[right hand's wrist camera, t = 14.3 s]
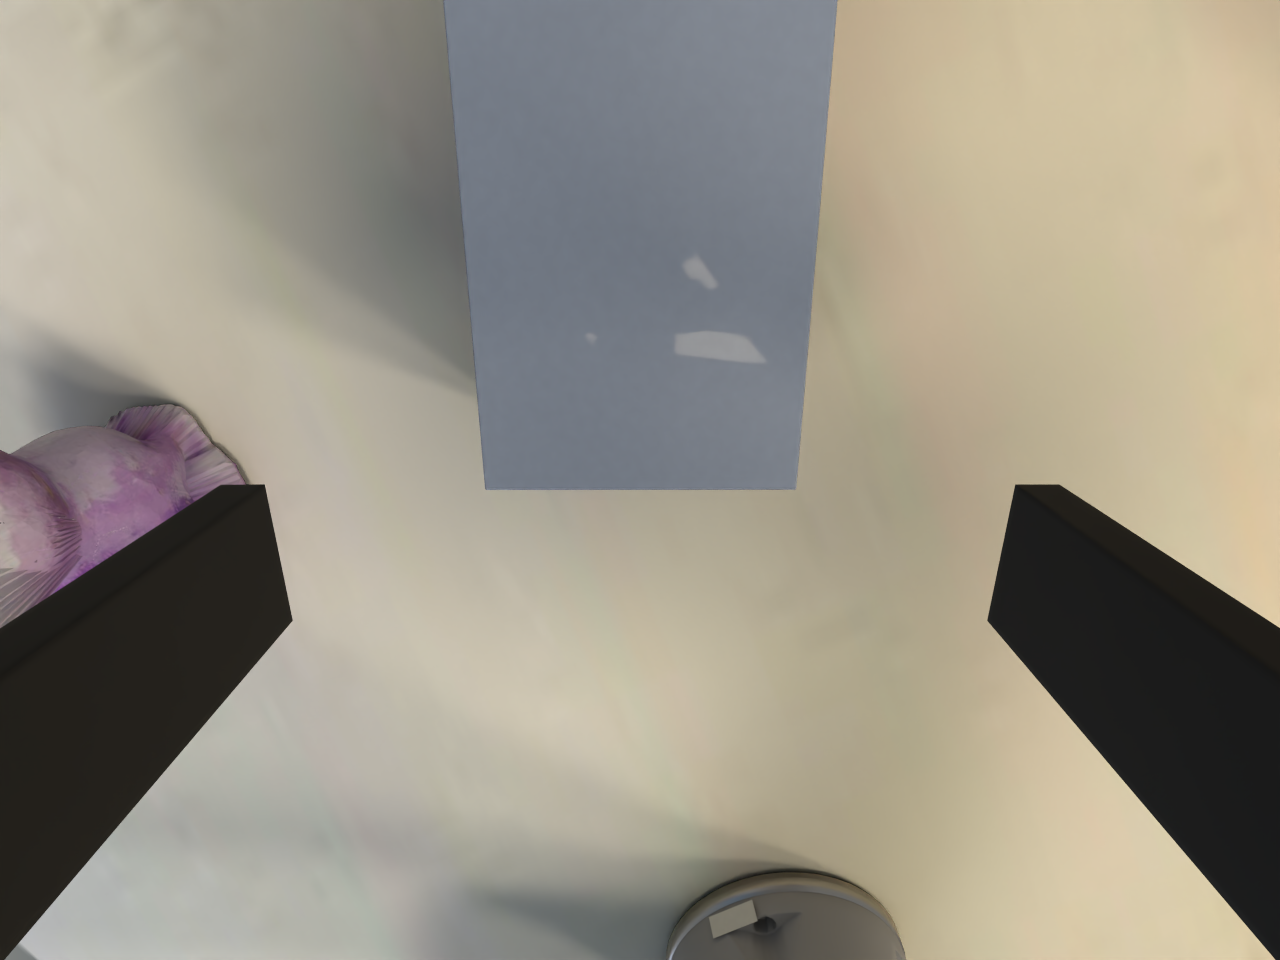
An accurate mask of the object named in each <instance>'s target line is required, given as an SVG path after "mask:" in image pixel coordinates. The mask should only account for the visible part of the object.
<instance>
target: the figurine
mask: <svg viewBox="0 0 1280 960" xmlns="http://www.w3.org/2000/svg"><path fill="white" fill-rule="evenodd" d="M219 485H246V483H245V482H244V480H243V478H242V476H241V475H240V473H239V471H238V469H237V465H236V464H235V463H234V462H233V461H231V460H230V459H229V458H228V457H227V456H226V455H225V454H224V453H223V452H222V451H221V450H220V449H218V448H217V447H216V446H215V445H213V444H212V443H211V442H210V440H209V438H208V437H207V436H206V435H205V434H204V433H203V431H202V429H201V428H200V427H199V426H198V424H197V421H196V420H195V419H194V418H193V417H192V416H191V415H190V414H189V413H188V412H187V411H186V410H185V409H184V408H182V407H179V406H174V405H172V404H168V405H167V404H164V405H160V406H157V405H155V406H153V407H152V406H148V407H146V406H143V407H140V406H138V407H132V408H127V409H125V410H124V411H120V412H119V414H118V415H116V416H113V417H111V418H110V420H109V421H108V423H107V425H106V426H105V428H104V427H97V426H81V427H72V428H66V429H61V430H57V431H54V432H51V433H48V434H46V435H44V436H42V437H40V438H38V439H35V440H34V441H32V442H30V443H28V444H27V445H25V446H23V447H22V448H20V449H18V450H17V451H15V452H13V453H11V454H7V453H5V452H3V451H1V450H0V628H1V627H3V626H4V625H6V624H7V623H9V622H10V621H12V620H13V619H15V618H17V617H18V616H20V615H21V614H23V613H24V612H26V611H27V610H29V609H30V608H32V607H33V606H35V605H37V604H38V603H40V602H41V601H43V600H44V599H46V598H47V597H49V596H50V595H52V594H53V593H55V592H57V591H58V590H60V589H61V588H63V587H64V586H66V585H67V584H69V583H70V582H72V581H73V580H75V579H76V578H78V577H80V576H81V575H83V574H84V573H86V572H87V571H89V570H90V569H92V568H93V567H95V566H96V565H98V564H100V563H101V562H103V561H104V560H106V559H107V558H109V557H110V556H112V555H113V554H115V553H116V552H118V551H120V550H121V549H123V548H124V547H126V546H127V545H129V544H130V543H132V542H133V541H135V540H136V539H138V538H140V537H141V536H143V535H144V534H146V533H147V532H149V531H150V530H152V529H153V528H155V527H156V526H158V525H159V524H161V523H163V522H164V521H166V520H167V519H169V518H170V517H172V516H173V515H175V514H176V513H178V512H179V511H181V510H183V509H184V508H186V507H187V506H189V505H190V504H192V503H193V502H195V501H196V500H198V499H199V498H201V497H203V496H204V495H206V494H207V493H209V492H210V491H212V490H213V489H215V488H216V487H218V486H219Z"/></svg>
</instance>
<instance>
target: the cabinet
mask: <svg viewBox="0 0 1280 960" xmlns="http://www.w3.org/2000/svg"><path fill="white" fill-rule="evenodd" d="M443 2H444V13H445V25H446V37H447V48H448V60H449V72H450V83H451V95H452V107H453V118H454V130H455V142H456V153H457V165H458V177H459V188H460V200H461V212H462V223H463V235H464V247H465V258H466V270H467V282H468V293H469V305H470V317H471V328H472V340H473V352H474V363H475V375H476V387H477V398H478V410H479V422H480V433H481V445H482V457H483V468H484V480H485V489H486V490H795V489H796V485H797V473H798V461H799V450H800V438H801V426H802V414H803V402H804V390H805V379H806V367H807V355H808V343H809V331H810V319H811V308H812V296H813V284H814V272H815V260H816V248H817V237H818V225H819V213H820V201H821V189H822V177H823V166H824V154H825V142H826V130H827V118H828V107H829V95H830V83H831V71H832V59H833V47H834V36H835V24H836V12H837V0H443Z"/></svg>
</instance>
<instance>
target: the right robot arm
mask: <svg viewBox="0 0 1280 960" xmlns="http://www.w3.org/2000/svg"><path fill="white" fill-rule="evenodd" d="M292 621H293V620H292V615H291V610H290V605H289V601H288V596H287V591H286V586H285V581H284V576H283V571H282V567H281V562H280V557H279V552H278V547H277V542H276V538H275V533H274V528H273V523H272V518H271V513H270V508H269V504H268V499H267V494H266V489H265V485H219V486H218V487H216V488H215V489H213V490H212V491H210V492H209V493H207V494H206V495H204V496H203V497H201V498H199V499H198V500H196V501H195V502H193V503H192V504H190V505H189V506H187V507H186V508H184V509H183V510H181V511H179V512H178V513H176V514H175V515H173V516H172V517H170V518H169V519H167V520H166V521H164V522H163V523H161V524H159V525H158V526H156V527H155V528H153V529H152V530H150V531H149V532H147V533H146V534H144V535H143V536H141V537H140V538H138V539H136V540H135V541H133V542H132V543H130V544H129V545H127V546H126V547H124V548H123V549H121V550H120V551H118V552H116V553H115V554H113V555H112V556H110V557H109V558H107V559H106V560H104V561H103V562H101V563H100V564H98V565H96V566H95V567H93V568H92V569H90V570H89V571H87V572H86V573H84V574H83V575H81V576H80V577H78V578H76V579H75V580H73V581H72V582H70V583H69V584H67V585H66V586H64V587H63V588H61V589H60V590H58V591H57V592H55V593H53V594H52V595H50V596H49V597H47V598H46V599H44V600H43V601H41V602H40V603H38V604H37V605H35V606H33V607H32V608H30V609H29V610H27V611H26V612H24V613H23V614H21V615H20V616H18V617H17V618H15V619H13V620H12V621H10V622H9V623H7V624H6V625H4V626H3V627H1V628H0V960H4V959H5V958H6V957H7V956H8V955H9V954H10V952H11V951H12V950H13V949H14V948H15V947H16V945H17V944H18V943H19V942H20V941H21V940H22V938H23V937H24V936H25V935H26V934H27V932H28V931H29V930H30V929H31V928H32V927H33V925H34V924H35V923H36V922H37V921H38V920H39V918H40V917H41V916H42V915H43V914H44V912H45V911H46V910H47V909H48V908H49V907H50V905H51V904H52V903H53V902H54V901H55V900H56V898H57V897H58V896H59V895H60V894H61V892H62V891H63V890H64V889H65V888H66V887H67V885H68V884H69V883H70V882H71V881H72V880H73V878H74V877H75V876H76V875H77V874H78V872H79V871H80V870H81V869H82V868H83V867H84V865H85V864H86V863H87V862H88V861H89V860H90V858H91V857H92V856H93V855H94V854H95V852H96V851H97V850H98V849H99V848H100V847H101V845H102V844H103V843H104V842H105V841H106V840H107V838H108V837H109V836H110V835H111V834H112V832H113V831H114V830H115V829H116V828H117V827H118V825H119V824H120V823H121V822H122V821H123V820H124V818H125V817H126V816H127V815H128V814H129V812H130V811H131V810H132V809H133V808H134V807H135V805H136V804H137V803H138V802H139V801H140V800H141V798H142V797H143V796H144V795H145V794H146V792H147V791H148V790H149V789H150V788H151V787H152V785H153V784H154V783H155V782H156V781H157V780H158V778H159V777H160V776H161V775H162V774H163V772H164V771H165V770H166V769H167V768H168V767H169V765H170V764H171V763H172V762H173V761H174V760H175V758H176V757H177V756H178V755H179V754H180V752H181V751H182V750H183V749H184V748H185V747H186V745H187V744H188V743H189V742H190V741H191V740H192V738H193V737H194V736H195V735H196V734H197V732H198V731H199V730H200V729H201V728H202V727H203V725H204V724H205V723H206V722H207V721H208V720H209V718H210V717H211V716H212V715H213V714H214V712H215V711H216V710H217V709H218V708H219V707H220V705H221V704H222V703H223V702H224V701H225V700H226V698H227V697H228V696H229V695H230V694H231V692H232V691H233V690H234V689H235V688H236V687H237V685H238V684H239V683H240V682H241V681H242V680H243V678H244V677H245V676H246V675H247V674H248V672H249V671H250V670H251V669H252V668H253V667H254V665H255V664H256V663H257V662H258V661H259V660H260V658H261V657H262V656H263V655H264V654H265V652H266V651H267V650H268V649H269V648H270V647H271V645H272V644H273V643H274V642H275V641H276V640H277V638H278V637H279V636H280V635H281V634H282V632H283V631H284V630H285V629H286V628H287V627H288V625H289V624H290V623H291V622H292ZM987 621H988V622H989V623H990V624H991V625H992V627H993V628H994V629H995V630H996V631H997V632H998V634H999V635H1000V636H1001V637H1002V638H1003V640H1004V641H1005V642H1006V643H1007V644H1008V645H1009V647H1010V648H1011V649H1012V650H1013V651H1014V652H1015V654H1016V655H1017V656H1018V657H1019V658H1020V660H1021V661H1022V662H1023V663H1024V664H1025V665H1026V667H1027V668H1028V669H1029V670H1030V671H1031V672H1032V674H1033V675H1034V676H1035V677H1036V678H1037V680H1038V681H1039V682H1040V683H1041V684H1042V685H1043V687H1044V688H1045V689H1046V690H1047V691H1048V692H1049V694H1050V695H1051V696H1052V697H1053V698H1054V700H1055V701H1056V702H1057V703H1058V704H1059V705H1060V707H1061V708H1062V709H1063V710H1064V711H1065V712H1066V714H1067V715H1068V716H1069V717H1070V718H1071V720H1072V721H1073V722H1074V723H1075V724H1076V725H1077V727H1078V728H1079V729H1080V730H1081V731H1082V732H1083V734H1084V735H1085V736H1086V737H1087V738H1088V740H1089V741H1090V742H1091V743H1092V744H1093V745H1094V747H1095V748H1096V749H1097V750H1098V751H1099V752H1100V754H1101V755H1102V756H1103V757H1104V758H1105V760H1106V761H1107V762H1108V763H1109V764H1110V765H1111V767H1112V768H1113V769H1114V770H1115V771H1116V772H1117V774H1118V775H1119V776H1120V777H1121V778H1122V780H1123V781H1124V782H1125V783H1126V784H1127V785H1128V787H1129V788H1130V789H1131V790H1132V791H1133V792H1134V794H1135V795H1136V796H1137V797H1138V798H1139V800H1140V801H1141V802H1142V803H1143V804H1144V805H1145V807H1146V808H1147V809H1148V810H1149V811H1150V812H1151V814H1152V815H1153V816H1154V817H1155V818H1156V820H1157V821H1158V822H1159V823H1160V824H1161V825H1162V827H1163V828H1164V829H1165V830H1166V831H1167V832H1168V834H1169V835H1170V836H1171V837H1172V838H1173V840H1174V841H1175V842H1176V843H1177V844H1178V845H1179V847H1180V848H1181V849H1182V850H1183V851H1184V852H1185V854H1186V855H1187V856H1188V857H1189V858H1190V860H1191V861H1192V862H1193V863H1194V864H1195V865H1196V867H1197V868H1198V869H1199V870H1200V871H1201V872H1202V874H1203V875H1204V876H1205V877H1206V878H1207V880H1208V881H1209V882H1210V883H1211V884H1212V885H1213V887H1214V888H1215V889H1216V890H1217V891H1218V892H1219V894H1220V895H1221V896H1222V897H1223V898H1224V900H1225V901H1226V902H1227V903H1228V904H1229V905H1230V907H1231V908H1232V909H1233V910H1234V911H1235V912H1236V914H1237V915H1238V916H1239V917H1240V918H1241V920H1242V921H1243V922H1244V923H1245V924H1246V925H1247V927H1248V928H1249V929H1250V930H1251V931H1252V932H1253V934H1254V935H1255V936H1256V937H1257V938H1258V940H1259V941H1260V942H1261V943H1262V944H1263V945H1264V947H1265V948H1266V949H1267V950H1268V951H1269V952H1270V954H1271V955H1272V956H1273V957H1274V958H1275V960H1280V628H1279V627H1277V626H1276V625H1274V624H1273V623H1271V622H1270V621H1268V620H1267V619H1265V618H1263V617H1262V616H1260V615H1259V614H1257V613H1256V612H1254V611H1253V610H1251V609H1250V608H1248V607H1247V606H1245V605H1243V604H1242V603H1240V602H1239V601H1237V600H1236V599H1234V598H1233V597H1231V596H1230V595H1228V594H1227V593H1225V592H1223V591H1222V590H1220V589H1219V588H1217V587H1216V586H1214V585H1213V584H1211V583H1210V582H1208V581H1207V580H1205V579H1204V578H1202V577H1200V576H1199V575H1197V574H1196V573H1194V572H1193V571H1191V570H1190V569H1188V568H1187V567H1185V566H1184V565H1182V564H1180V563H1179V562H1177V561H1176V560H1174V559H1173V558H1171V557H1170V556H1168V555H1167V554H1165V553H1164V552H1162V551H1160V550H1159V549H1157V548H1156V547H1154V546H1153V545H1151V544H1150V543H1148V542H1147V541H1145V540H1144V539H1142V538H1140V537H1139V536H1137V535H1136V534H1134V533H1133V532H1131V531H1130V530H1128V529H1127V528H1125V527H1124V526H1122V525H1121V524H1119V523H1117V522H1116V521H1114V520H1113V519H1111V518H1110V517H1108V516H1107V515H1105V514H1104V513H1102V512H1101V511H1099V510H1097V509H1096V508H1094V507H1093V506H1091V505H1090V504H1088V503H1087V502H1085V501H1084V500H1082V499H1081V498H1079V497H1077V496H1076V495H1074V494H1073V493H1071V492H1070V491H1068V490H1067V489H1065V488H1064V487H1062V486H1061V485H1015V489H1014V494H1013V499H1012V504H1011V508H1010V513H1009V518H1008V523H1007V528H1006V533H1005V538H1004V542H1003V547H1002V552H1001V557H1000V562H999V567H998V571H997V576H996V581H995V586H994V591H993V596H992V601H991V605H990V610H989V615H988V620H987ZM666 960H906V957H905V952H904V949H903V946H902V943H901V940H900V937H899V935H898V932H897V929H896V926H895V924H894V922H893V920H892V918H891V917H890V915H889V914H888V912H887V911H886V910H885V908H884V907H883V906H882V905H881V904H880V903H879V902H878V901H877V900H876V899H874V898H873V897H872V896H871V895H869V894H868V893H866V892H865V891H863V890H861V889H860V888H858V887H856V886H854V885H851V884H849V883H847V882H844V881H841V880H839V879H835V878H832V877H828V876H823V875H818V874H811V873H799V872H784V873H771V874H764V875H759V876H754V877H750V878H746V879H742V880H739V881H736V882H733V883H731V884H728V885H726V886H724V887H721V888H720V889H718V890H716V891H714V892H712V893H710V894H709V895H707V896H706V897H704V898H702V899H701V900H700V901H699V902H697V903H696V904H695V905H694V906H692V907H691V908H690V909H689V910H688V911H687V912H686V913H685V915H684V916H683V917H682V918H681V919H680V921H679V922H678V924H677V925H676V927H675V928H674V930H673V932H672V934H671V937H670V940H669V942H668V947H667V954H666Z"/></svg>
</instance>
